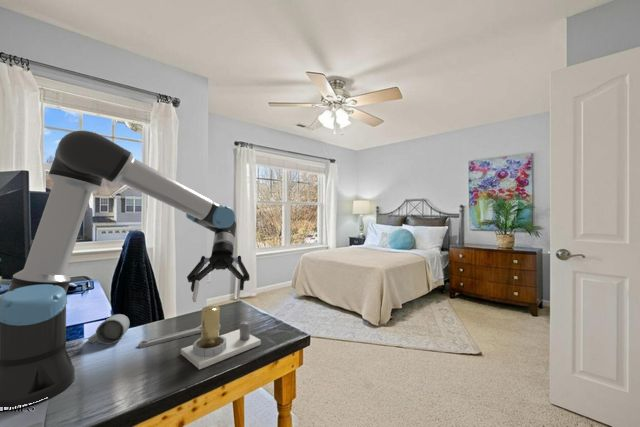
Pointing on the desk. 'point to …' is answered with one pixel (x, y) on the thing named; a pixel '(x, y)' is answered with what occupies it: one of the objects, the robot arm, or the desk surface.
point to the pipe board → (221, 347)
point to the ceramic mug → (111, 329)
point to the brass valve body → (210, 327)
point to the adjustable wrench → (171, 337)
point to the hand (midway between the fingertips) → (216, 299)
